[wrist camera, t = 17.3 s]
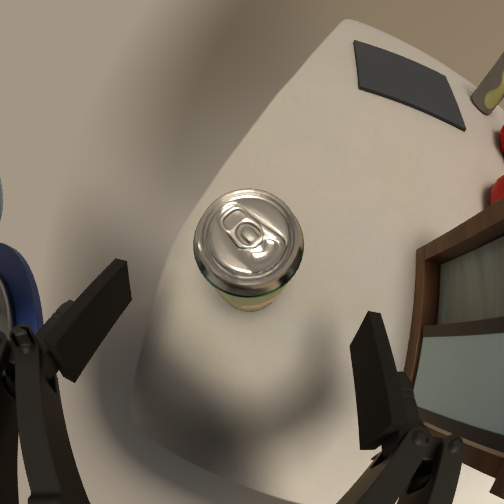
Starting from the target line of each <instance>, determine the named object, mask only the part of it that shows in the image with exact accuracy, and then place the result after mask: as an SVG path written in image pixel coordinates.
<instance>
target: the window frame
mask: <svg viewBox="0 0 504 504" xmlns="http://www.w3.org/2000/svg"><path fill="white" fill-rule="evenodd" d="M503 316H504V197H502V198H501V199H499V200H498V201H496V202H495V203H493V204H492V205H490V206H489V207H487V208H486V209H484V210H483V211H481V212H480V213H478V214H476V215H475V216H473V217H472V218H470V219H468V220H467V221H465V222H464V223H462V224H460V225H459V226H457V227H455V228H454V229H452V230H450V231H449V232H447V233H445V234H444V235H442V236H440V237H438V238H437V239H435V240H433V241H431V242H430V243H428V244H426V245H424V246H423V247H421V248H419V249H417V264H416V284H415V298H414V309H413V318H412V326H411V334H410V341H409V347H408V353H407V359H406V364H405V370H404V372H405V373H406V374H407V376H408V377H409V379H410V380H411V384H412V388H413V390H414V386H415V381H416V376H417V371H418V366H419V361H420V355H421V349H422V342H423V337H422V336H423V328H424V326H429V325H440V324H450V323H459V322H468V321H475V320H483V319H490V318H497V317H503ZM413 390H412V391H413ZM420 423H421V426H423V427H425V428H426V429H427V430H428V431H429V432H430V434H431V435H432V436H435V437H439V438H443V439H445V438H446V437H447V436H449V435H451V434H452V433H449V432H447V431H444V430H442V429H440V428H437V427H435V426H433V425H431V424H428V423H426V422H424V421H422V420H420ZM461 438H462V437H461ZM462 440H463V442H464V454H463V460H462V463H464V464H466V465H468V466H470V467H472V468H474V469H476V470H478V471H480V472H482V473H485V474H487V475H489V476H491V477H494V478H496V479H495V482H494V484H493V486H492V488H491V490H490V491H489V492H490V493H492V494H494V495H496V496H498V497H500V498H502V499H504V453H503V452H500V451H497V450H494V449H491V448H488V447H485V446H483V445H480V444H477V443H474V442H472V441H469V440H467V439H464V438H462Z"/></svg>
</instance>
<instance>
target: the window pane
mask: <svg viewBox="0 0 504 504" xmlns="http://www.w3.org/2000/svg"><path fill="white" fill-rule="evenodd" d="M422 337H423V342H422V349H421V355H420V361H419V366H418V371H417V376H416V381H415V386H414V390H413V392H414V396H415V397H414V398H415V400H416V404H417V409H418V413H419V418H420V420H422V421H424V422H426V423H428V424H431V425H433V426H435V427H437V428H440V429H442V430H444V431H447V432H449V433H452V434H457V435H458V436H460V437H462V438H464V439H467V440H469V441H472V442H474V443H477V444H480V445H483V446H485V447H488V448H491V449H494V450H497V451H500V452H503V453H504V316H503V317H497V318H490V319H483V320H475V321H468V322H459V323H450V324H440V325H429V326H424V328H423V336H422Z"/></svg>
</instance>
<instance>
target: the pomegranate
mask: <svg viewBox="0 0 504 504" xmlns="http://www.w3.org/2000/svg"><path fill="white" fill-rule="evenodd" d="M502 197H504V175H503V176H501V177H500V178H499V179H498V180H497V181H496V183H495V184H494V185H493V187H492V189H491V205H492V204H493V203H495V202H496V201H498V200H499V199H501V198H502Z"/></svg>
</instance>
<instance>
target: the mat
mask: <svg viewBox="0 0 504 504" xmlns="http://www.w3.org/2000/svg"><path fill="white" fill-rule="evenodd" d="M354 49H355V57H356V65H357V74H358V84H359V89H361V90H364V91H368V92H371V93H374V94H377V95H380V96H383V97H386V98H389V99H392V100H394V101H397V102H400V103H402V104H405V105H408V106H410V107H413V108H415V109H418V110H420V111H422V112H425V113H427V114H429V115H432V116H434V117H436V118H438V119H440V120H442V121H445V122H447V123H449V124H451V125H453V126H455V127H457V128H459V129H461V130H463V131H465V130H466V127H465V124H464V121H463V118H462V116H461V113H460V110H459V107H458V105H457V102H456V100H455V97H454V95H453V92H452V90H451V88H450V85H449V83H448V81H447V79H446V76H444V75H442V74H440V73H438V72H436V71H434V70H432V69H430V68H428V67H426V66H424V65H421V64H419V63H417V62H415V61H412V60H410V59H407V58H405V57H403V56H400V55H397V54H395V53H392V52H389V51H387V50H384V49H381V48H378V47H375V46H372V45H369V44H366V43H363V42H359V41H356V40H354Z"/></svg>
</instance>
